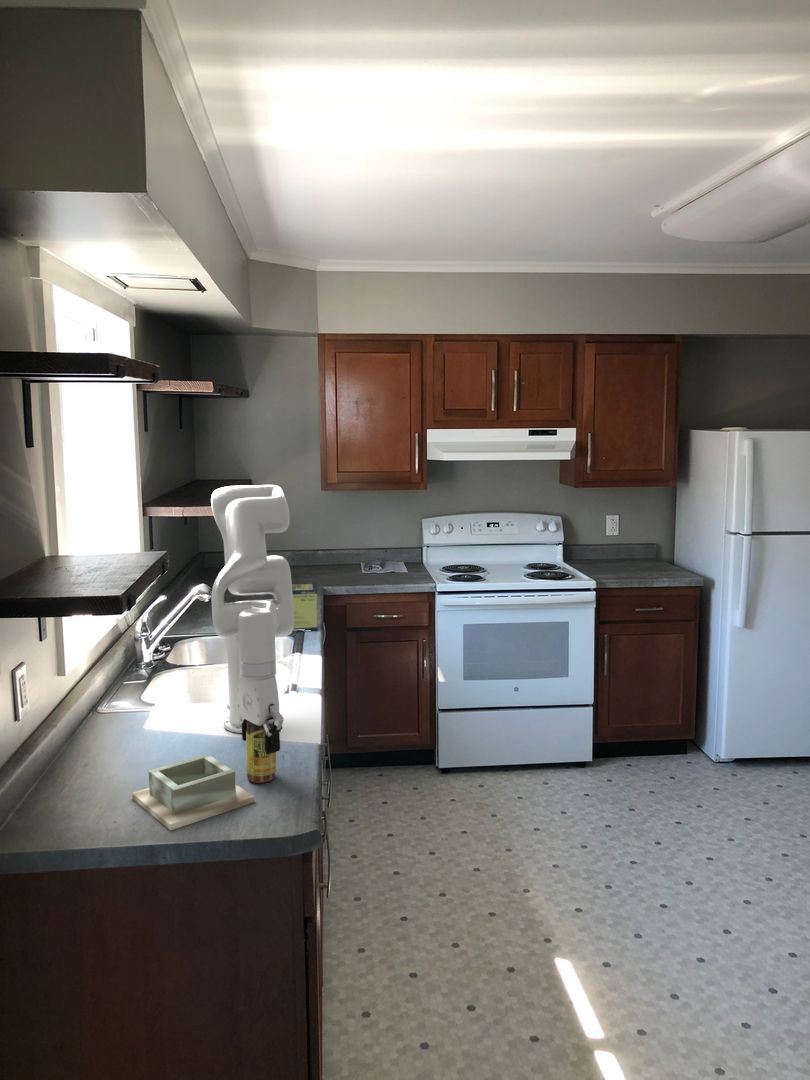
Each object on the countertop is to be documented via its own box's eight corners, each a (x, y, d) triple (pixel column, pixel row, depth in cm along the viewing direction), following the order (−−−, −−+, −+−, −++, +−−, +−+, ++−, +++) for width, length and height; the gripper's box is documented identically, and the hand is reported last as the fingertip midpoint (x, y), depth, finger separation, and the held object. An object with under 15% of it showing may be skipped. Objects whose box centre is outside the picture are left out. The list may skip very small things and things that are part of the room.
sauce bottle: (254, 787, 178) (251, 695, 175) (241, 777, 183) (238, 688, 180) (282, 779, 182) (279, 689, 179) (269, 769, 187) (266, 682, 184)
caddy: (132, 798, 173) (130, 769, 172) (212, 774, 185) (211, 746, 184) (170, 830, 160) (168, 799, 159) (254, 802, 171) (253, 772, 170)
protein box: (318, 631, 306) (317, 588, 304) (274, 633, 304) (273, 590, 302) (317, 624, 317) (316, 583, 314) (275, 626, 314) (273, 584, 312)
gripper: (222, 662, 183) (225, 738, 185) (263, 680, 170) (266, 762, 172) (252, 655, 188) (255, 730, 190) (295, 673, 175) (297, 752, 177)
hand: (260, 745), depth 181 cm, fingers open, 9 cm apart
